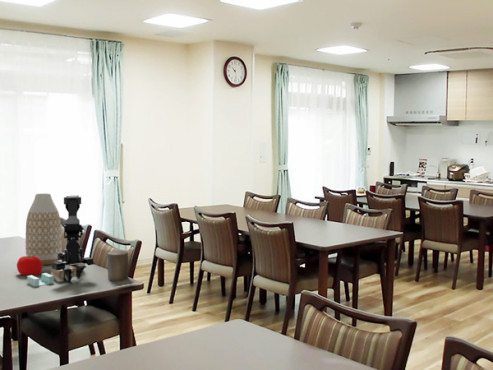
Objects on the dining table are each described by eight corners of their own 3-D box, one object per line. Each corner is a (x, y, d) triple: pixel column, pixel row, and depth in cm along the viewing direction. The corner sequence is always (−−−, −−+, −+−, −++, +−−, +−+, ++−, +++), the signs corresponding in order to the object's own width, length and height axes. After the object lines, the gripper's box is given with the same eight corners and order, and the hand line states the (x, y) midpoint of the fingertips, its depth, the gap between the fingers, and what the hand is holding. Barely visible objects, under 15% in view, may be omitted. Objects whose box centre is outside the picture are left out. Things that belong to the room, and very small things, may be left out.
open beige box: (68, 276, 270) (68, 264, 270) (77, 280, 264) (76, 268, 264) (50, 279, 264) (50, 267, 264) (59, 283, 258) (59, 271, 257)
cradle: (46, 281, 261) (46, 272, 261) (53, 284, 255) (53, 276, 255) (27, 284, 255) (27, 275, 254) (34, 288, 249) (34, 279, 249)
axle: (56, 276, 266) (57, 269, 266) (63, 275, 268) (63, 269, 268) (71, 284, 254) (72, 277, 254) (78, 283, 257) (79, 276, 257)
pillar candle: (132, 280, 266) (132, 249, 265) (115, 283, 259) (114, 252, 258) (120, 276, 272) (120, 246, 271) (103, 280, 265) (103, 249, 264)
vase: (51, 267, 289) (50, 196, 286) (19, 266, 292) (17, 195, 288) (68, 260, 307) (67, 193, 304) (37, 258, 310) (36, 192, 307)
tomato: (35, 279, 265) (34, 258, 264) (11, 277, 268) (11, 257, 267) (47, 273, 276) (47, 253, 275) (25, 272, 279) (25, 252, 278)
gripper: (83, 243, 268) (83, 275, 269) (46, 248, 255) (46, 281, 256) (94, 247, 260) (94, 279, 261) (56, 252, 247) (57, 286, 248)
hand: (73, 281), depth 257 cm, fingers closed on axle, 3 cm apart
